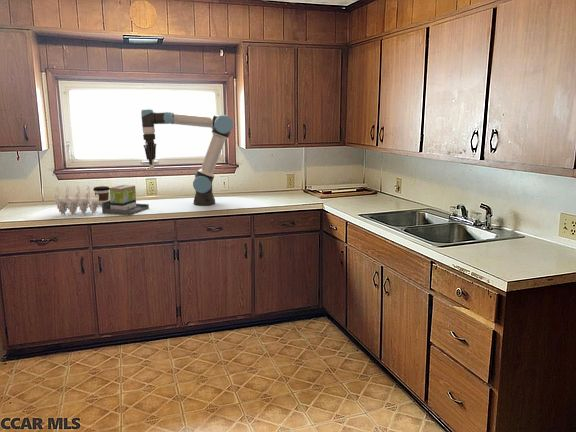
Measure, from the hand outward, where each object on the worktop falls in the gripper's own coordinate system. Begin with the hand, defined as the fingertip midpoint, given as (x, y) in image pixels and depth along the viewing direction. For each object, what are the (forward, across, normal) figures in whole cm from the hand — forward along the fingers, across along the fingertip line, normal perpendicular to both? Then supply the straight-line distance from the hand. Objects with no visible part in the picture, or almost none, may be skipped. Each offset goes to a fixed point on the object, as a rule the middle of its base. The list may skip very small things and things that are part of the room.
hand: (152, 169), depth 315 cm
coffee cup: (+25, -3, -42) cm, 49 cm away
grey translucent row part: (+25, +28, -39) cm, 54 cm away
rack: (+26, +13, -14) cm, 32 cm away
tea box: (+24, +13, -16) cm, 32 cm away
